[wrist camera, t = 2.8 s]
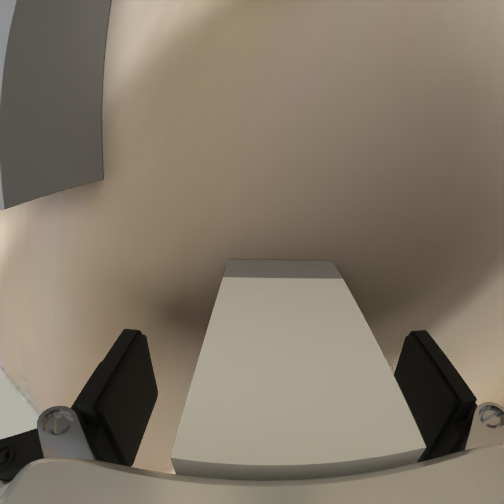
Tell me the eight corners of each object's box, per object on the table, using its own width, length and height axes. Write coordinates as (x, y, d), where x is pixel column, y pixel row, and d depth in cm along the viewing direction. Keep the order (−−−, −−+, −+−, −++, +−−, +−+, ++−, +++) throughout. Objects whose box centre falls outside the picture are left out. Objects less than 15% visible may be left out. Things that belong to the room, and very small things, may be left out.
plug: (332, 260, 14) (426, 446, 4) (322, 346, 15) (363, 530, 6) (228, 258, 14) (170, 457, 4) (230, 345, 15) (201, 534, 6)
